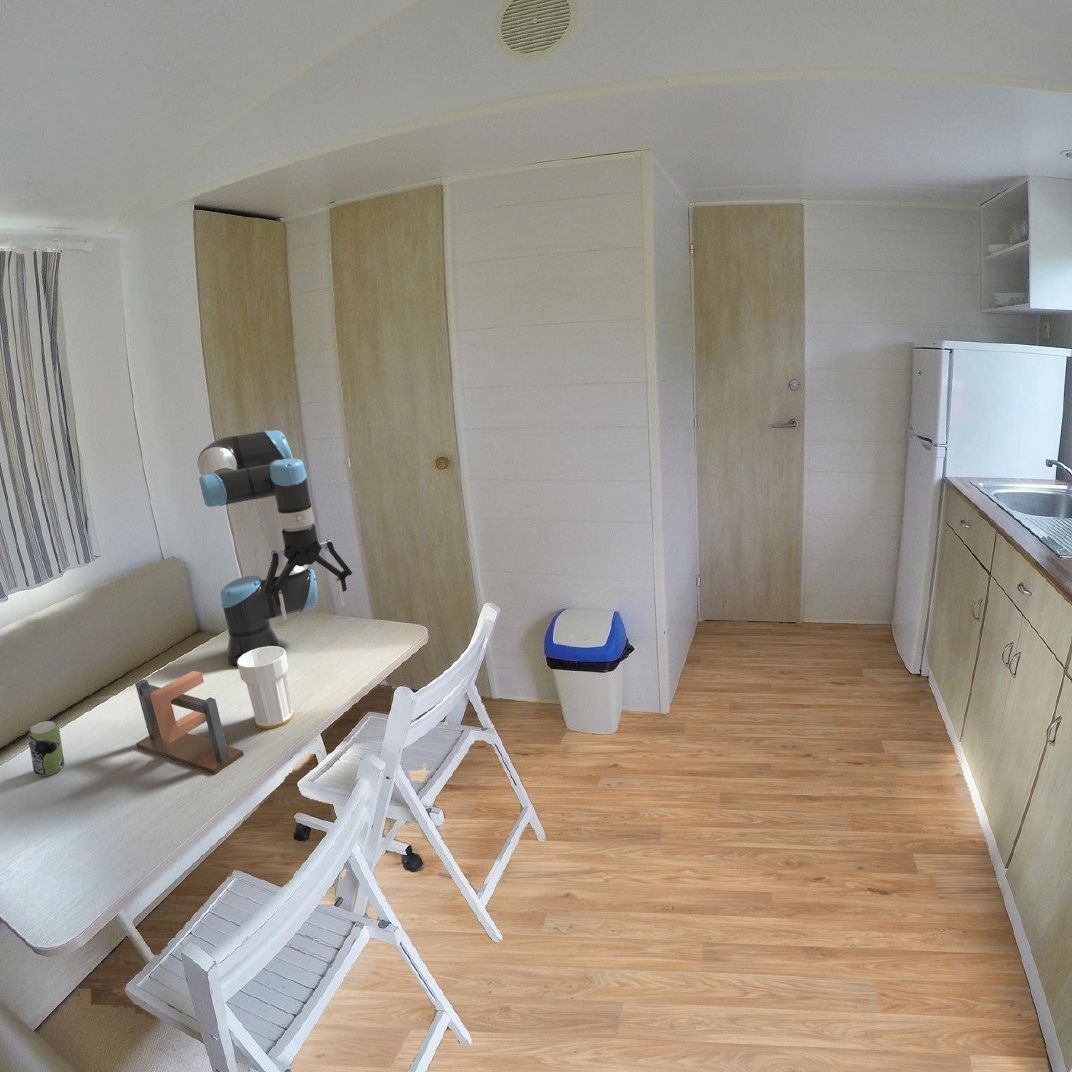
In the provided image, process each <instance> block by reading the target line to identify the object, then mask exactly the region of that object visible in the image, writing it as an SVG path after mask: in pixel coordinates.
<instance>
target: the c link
mask: <svg viewBox="0 0 1072 1072" xmlns="http://www.w3.org/2000/svg"><path fill="white" fill-rule="evenodd" d="M203 683H205V681H204V677H203V673H202V672H201V671H200V672H199V671H196V670H192V671H190V672H189V673H187V674H184V675H182V676H181V677H179V678H177V679H175V680H173V681H171V682H170V683H167V684H166V685H163V686H162V687H160V689H158V690H156V691H154V692H152V693H150V697H151V700H152V704H153V708H154V711H155V715H156V719H157V723H158V726H159V730H160V734H161V738H162V740H163V741H166V742H169V743H171V742H173V741H175V740H176V739H178V738H180V737H181V736H183V735H185V734H186V733H188V734H189V733H190V732H191V731H193V730H195V729H197V728H198V727H200V726H201V725H203V724H205V723H207V721H206V717H205V714H204V713H200V712H197V711H193V710H192V711H191V712H189V713H188V714H185V715H184V716H183V717H181V718H179V719H178V720H176V717H175V713H174V708H173V704H171V700H173V699H175V698H176V697H178V696H180V695H182V694H185V693H188V692H189V691H191V690H192V689H195V688H196V687H198V686H200V685H201V684H203Z"/></svg>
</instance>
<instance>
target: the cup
mask: <svg viewBox="0 0 1072 1072" xmlns="http://www.w3.org/2000/svg"><path fill="white" fill-rule="evenodd" d="M237 665H238V666H237V668H238V671H239V675H240V676H239V677H240V679H241V680H242V682H243V683H245V684H246V686H247V691H248V694H249V698H250V702H251V706H252V710H253V714H254V717H255V719H254V720H255V721H254V722H255V725H256V727H257V728H260V729H265V730H266V729H267V730H271V729H276V728H280V727H282V726H285V725H286V724H287V723H289V722H290V721H291V720H292V719H293V718H294V710H293V708H292V703H291V698H290V692H289V685H288V679H287V673H288V669H289V664H288V659H287V652H286V649H284V648H283V647H282V646H281V647H277V646H267V647H261V648H257V649H254V650H251V651H249V652H247V653H245V654H243V655H242V656H241V657H240V658H238V661H237Z"/></svg>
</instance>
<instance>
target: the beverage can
mask: <svg viewBox="0 0 1072 1072" xmlns="http://www.w3.org/2000/svg"><path fill="white" fill-rule="evenodd" d="M60 730H61V729H60V727H59V726H58V725H56V722H54V721H51V720H45V721H40V722H36V723H35V724H33V725H32V726H31V727H30V729H29V731H28V733H27V738H28V743H29V744H28V745H29V750H30V756H31V762H32V768H33V772H34V773H35V774H36V775H38V776H43V777H45V776H51V775H54V774H56V773H58V772H60V770H62V769H63V768H64V767H65V758H64V752H63V746H62V745H63V744H62V737H61V731H60Z"/></svg>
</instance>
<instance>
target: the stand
mask: <svg viewBox="0 0 1072 1072" xmlns="http://www.w3.org/2000/svg"><path fill="white" fill-rule="evenodd" d="M134 684H135V688H136V692H137V696H138V699H139V703H140V707H141V710H142V713H143V717H144V722H145V724H146V725H145V726H146V728H147V733H148V736H146V737H144V738H142V739H141V740H139V741H138V742H136V743H135V745H136V748H137V749H140V750H143V751H146V752H148V753H152V754H154V755H158V756H160V757H163V758H166V759H169V760H172V761H175V762H178V763H181V764H183V765H186V766H190V767H193V768H194V769H195V768H196V769H198V770H200V771H204V772H206V773H209V774H212V775H217V774H218V773H220V772H221V771H222V770H224V769H226V768H227V767H228V766H229V765H231V764H233V763H234V762H235V761H237V760H239V759H241V758H242V757H243V756H244V751H243V750H242V749H238V748H236V747H232V746H230V745H229V746H228V745H227V742H226V738H225V734H224V730H223V726H222V721H221V718H220V714H219V713H220V712H219V709H218V705H217V701H216V698H212V697H207V698H206V699H204V698H199V697H195V696H191V695H188V694H185V693H184V694H182V695H180V696H178V697H176V698H175V699H173V700H171V704H172V706H177V707H180V708H184V709H188V710H191V711H192V712H193V711H197V712H200V713H204V714H205V717H206V724H207V728H208V732H209V736H210V737H209V738H210V739H207V738H205V737H201V736H197V735H194V734H192V733H189V732H188V733H186V734H185V735H183V736H181V737H180V738H178V739H176V740H175V741H173V742H171V743H169V742H166V741H163V740H162V738H161V734H160V730H159V726H158V723H157V719H156V715H155V711H154V708H153V704H152V700H151V697H150V693H152V692H154V691H156V690H158V689H160V688H161V687H159V686H156V685H152V684H149V681H148V680H146V679H143V678H142V679H140V680H139V681H136V682H135V683H134Z"/></svg>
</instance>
